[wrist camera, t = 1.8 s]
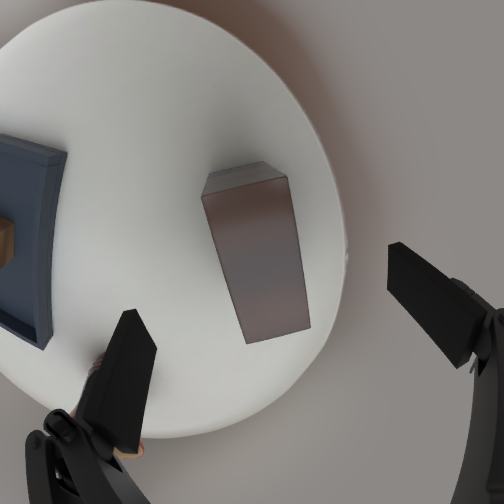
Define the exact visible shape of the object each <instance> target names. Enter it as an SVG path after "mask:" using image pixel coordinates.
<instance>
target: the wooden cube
mask: <svg viewBox="0 0 504 504" xmlns="http://www.w3.org/2000/svg"><path fill="white" fill-rule="evenodd" d="M13 258H14V222H12V221H10V220H8V219H5V218H3V217H1V216H0V269H1V268H2V267H3V266H4V265H5V264H7V263H8V262H9V261H10V260H11V259H13Z"/></svg>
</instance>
